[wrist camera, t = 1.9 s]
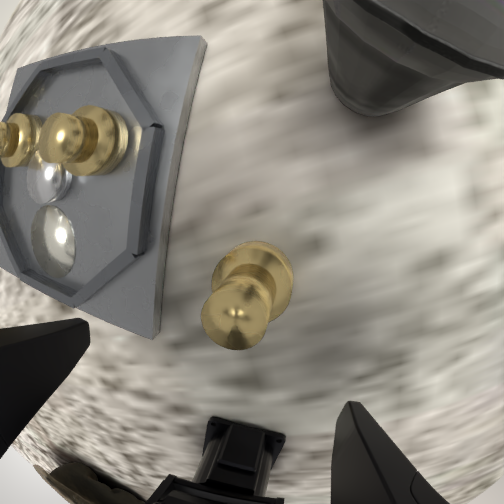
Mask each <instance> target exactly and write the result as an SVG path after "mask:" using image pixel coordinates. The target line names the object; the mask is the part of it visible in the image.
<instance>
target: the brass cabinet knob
mask: <svg viewBox="0 0 504 504" xmlns="http://www.w3.org/2000/svg"><path fill="white" fill-rule="evenodd" d="M292 286H293V270H292V267H291V264H290V262H289V260H288V258H287V257H286V256H285V254H284V253H283V252H282V251H280V250H279V249H278V248H276V247H275V246H273V245H271V244H269V243H265V242H260V241H251V242H246V243H243V244H240V245H239V246H237V247H235V248H234V249H233V250H232V251H230V252H229V253H228V254H227V255H226V256H225V257H224V258H223V259H222V260H221V261H220V262H219V263H218V265H217V266H216V268H215V270H214V273H213V277H212V292H213V294H212V295H211V296H210V297H209V298H208V300H207V301H206V302H205V304H204V306H203V308H202V312H201V321H202V325H203V328H204V330H205V332H206V333H207V335H208V336H209V337H210V338H211V339H212V340H213V341H214V342H215V343H217V344H218V345H220V346H222V347H224V348H227V349H231V350H244V349H248V348H251V347H253V346H255V345H256V344H257V343H258V342H259V341H260V340H261V339H262V338H263V336H264V334H265V331H266V328H267V324H268V322H270V321H273V320H274V319H276V318H277V317H279V316H280V315H281V314H282V313H283V312H284V310H285V309H286V308H287V306H288V304H289V301H290V298H291V293H292Z"/></svg>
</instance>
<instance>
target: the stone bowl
mask: <svg viewBox="0 0 504 504" xmlns="http://www.w3.org/2000/svg"><path fill="white" fill-rule="evenodd" d="M33 466H34V468H35V469H36V471H37V472H38V473H39V474H40V476H41V477H42V478H43V479H44V480H45V481H46V482H47V483H48V484H49V485H50V486H51V487H52V488H53V489H55V491H57V492H58V493H59V494H60V495H61V496H62V497H63V498H64V499H65V500H66V501H68V502H69V503H70V504H145V502H143V501H141V500H138V499H137V498H136V497H135V496H134V495H132V494H130V493H128V492H126V491H124V490H121V489H119V488H114V489H112V490H111V488H109V487H108V486H107V485H105V484H103V483H100V482H98V481H97V476H96V474H95V473H94V471H93V470H91V469H90V468H88V467H87V466H85V465H84V464H82V463H78V462H75V463H74V462H71V463H68V464H65V465H62V466H60V467H58V468H56V469H54V470H53V471H52V472H51V473H50V474H48V473H47V472H46V471H45V470H44V469H43V468H41V467H40V466H38V465H33Z"/></svg>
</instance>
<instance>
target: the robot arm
mask: <svg viewBox="0 0 504 504" xmlns="http://www.w3.org/2000/svg"><path fill="white" fill-rule="evenodd" d="M89 345H90V330H89V324H88V322H87V321H85V320H83V319H81V318H74V319H67V320H60V321H54V322H47V323H40V324H33V325H25V326H18V327H10V328H2V329H0V459H1V457H2V456H3V455H4V453H5V452H6V451H7V449H8V448H9V447H10V445H11V444H12V443H13V441H14V440H15V439H16V438H17V436H18V435H19V434H20V433H21V431H22V430H23V429H24V428H25V426H26V425H27V424H28V423H29V421H30V420H31V419H32V418H33V417H34V415H35V414H36V413H37V412H38V410H39V409H40V408H41V407H42V406H43V405H44V403H45V402H46V401H47V400H48V399H49V397H50V396H51V395H52V394H53V393H54V392H55V390H56V389H57V388H58V387H59V386H60V385H61V383H62V382H63V381H64V380H65V379H66V378H67V376H68V375H69V374H70V373H71V371H72V370H73V368H74V367H75V366H76V364H77V363H78V361H79V360H80V358H81V357H82V356H83V354H84V353H85V351H86V350H87V349H88V347H89ZM213 422H214V423H213ZM285 438H286V437H285V436H284V435H282V434H278V433H273V432H269V431H264V430H260V429H256V428H252V427H248V426H244V425H240V424H236V423H232V422H229V421H225V420H222V419H219V418H215V417H211V418H210V419H209V421H208V424H207V430H206V436H205V442H204V448H203V454H202V460H201V462H200V464H199V467H198V469H197V472H196V474H195V476H194V479H193V481H192V482H191V481H188V480H184V479H181V478H178V477H177V476H175V475H171V474H169V475H168V476H167V478H166V479H165V480H163V481H162V483H161V484H160V485H159V487H158V488H157V489H156V490H155V492H154V493H153V494H152V495H151V497H150V498H149V499H148V500H147V502H146V503H145V504H284V498H278V497H277V498H269V497H265V494H266V489H267V484H268V479H269V474H270V471H271V469H272V467H273V465H274V463H275V461H276V459H277V457H278V455H279V453H280V451H281V449H282V447H283V445H284V443H285ZM331 504H449V503H448V502H447V501H446V500H445V499H444V498H443V497H442V496H441V495H440V494H439V493H438V492H437V491H436V490H435V489H434V488H433V487H432V486H431V485H430V484H429V483H428V482H427V481H426V480H425V479H424V477H423V476H422V475H421V474H420V473H419V472H418V471H417V469H416V468H415V467H414V466H413V465H412V463H411V462H410V461H409V460H408V459H407V458H406V456H405V455H404V454H403V453H402V452H401V450H400V449H399V448H398V447H397V446H396V444H395V443H394V442H393V441H392V440H391V439H390V437H389V436H388V435H387V434H386V433H385V431H384V430H383V429H382V428H381V427H380V425H379V424H378V423H377V422H376V421H375V419H374V418H373V417H372V416H371V415H370V413H369V412H368V411H367V410H366V409H365V407H364V406H363V405H362V404H361V403H360V402H356V401H347V403H346V404H345V406H344V408H343V409H342V411H341V413H340V415H339V417H338V419H337V422H336V429H335V438H334V447H333V454H332V464H331Z"/></svg>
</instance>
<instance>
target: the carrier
mask: <svg viewBox="0 0 504 504" xmlns="http://www.w3.org/2000/svg"><path fill="white" fill-rule="evenodd" d="M206 46H207V42H206V41H205V40H204V39H203V37H202V36H174V37H160V38H149V39H139V40H131V41H124V42H117V43H111V44H106V45H100V46H95V47H90V48H86V49H81V50H77V51H73V52H69V53H65V54H61V55H58V56H54V57H51V58H47V59H44V60H41V61H38V62H35V63H32V64H29V65H26V66H23V67H21V68H18V69H17V72H16V76H15V79H14V83H13V87H12V90H11V94H10V98H9V103H8V107H7V112H6V114H5V116H4V118H3V119H2V121H1V122H0V267H1V268H3V269H4V270H6V271H8V272H9V273H11V274H13V275H15V276H16V277H18V278H20V280H21V281H23V282H24V283H26V284H28V285H30V286H31V287H33V288H35V289H37V290H39V291H41V292H43V293H44V294H46V295H48V296H50V297H52V298H54V299H56V300H58V301H60V302H62V303H64V304H66V305H68V306H70V307H72V308H77V309H80V310H82V311H84V312H86V313H88V314H90V315H93V316H95V317H97V318H99V319H102V320H104V321H106V322H109V323H111V324H113V325H116V326H118V327H120V328H123V329H125V330H128V331H130V332H133V333H135V334H138V335H141V336H143V337H146V338H148V339H151V340H153V339H154V338H155V337H156V336H157V335H158V333H159V332H160V319H161V305H162V292H163V281H164V271H165V261H166V252H167V243H168V235H169V227H170V220H171V213H172V206H173V199H174V193H175V187H176V181H177V175H178V169H179V163H180V158H181V152H182V147H183V142H184V137H185V132H186V127H187V123H188V118H189V113H190V109H191V105H192V100H193V96H194V92H195V88H196V84H197V80H198V76H199V72H200V68H201V64H202V60H203V57H204V53H205V50H206Z"/></svg>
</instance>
